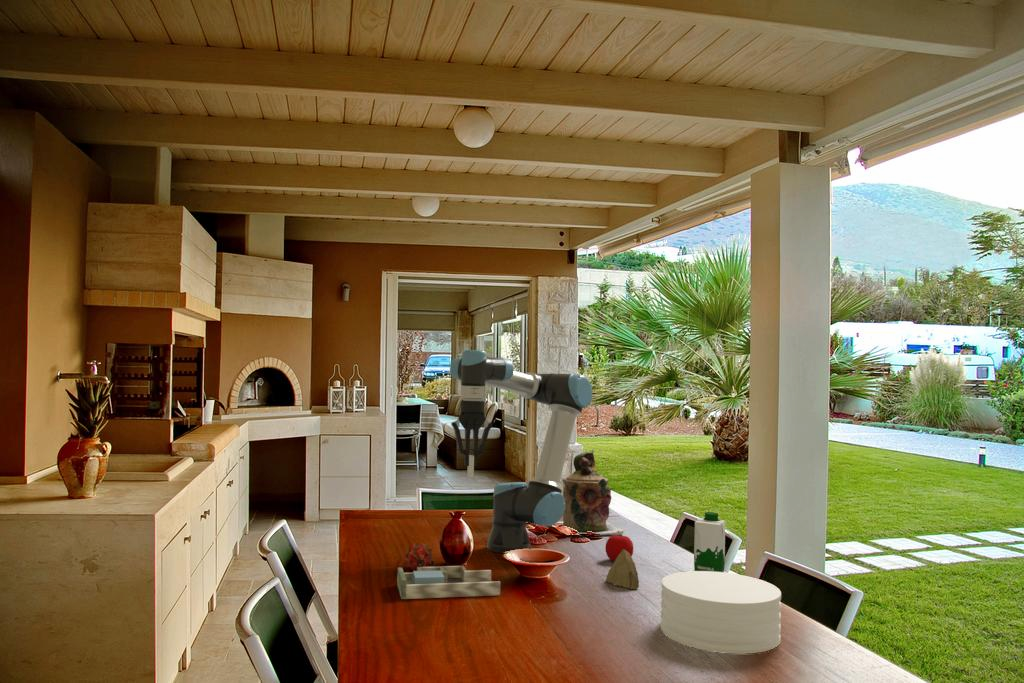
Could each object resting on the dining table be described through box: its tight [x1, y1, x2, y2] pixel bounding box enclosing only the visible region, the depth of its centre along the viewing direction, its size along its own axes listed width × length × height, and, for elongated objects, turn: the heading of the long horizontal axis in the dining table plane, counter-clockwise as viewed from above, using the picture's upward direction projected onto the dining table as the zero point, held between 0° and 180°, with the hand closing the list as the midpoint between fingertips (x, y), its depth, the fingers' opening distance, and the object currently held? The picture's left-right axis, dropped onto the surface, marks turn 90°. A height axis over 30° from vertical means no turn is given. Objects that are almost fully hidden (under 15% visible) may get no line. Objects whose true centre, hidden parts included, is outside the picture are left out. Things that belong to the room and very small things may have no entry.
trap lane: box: [396, 565, 501, 600], centre depth 216 cm, size 27×19×5 cm
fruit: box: [605, 531, 634, 562], centre depth 253 cm, size 9×9×10 cm
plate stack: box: [660, 570, 782, 653], centre depth 184 cm, size 28×28×12 cm
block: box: [412, 570, 444, 584], centre depth 212 cm, size 8×7×5 cm
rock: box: [604, 549, 640, 590], centre depth 223 cm, size 11×9×10 cm
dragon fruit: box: [404, 542, 435, 572], centre depth 235 cm, size 8×8×12 cm
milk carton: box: [693, 511, 726, 572], centre depth 232 cm, size 9×9×20 cm
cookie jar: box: [557, 449, 626, 536], centre depth 302 cm, size 25×25×32 cm
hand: (470, 476), depth 233 cm, fingers closed
